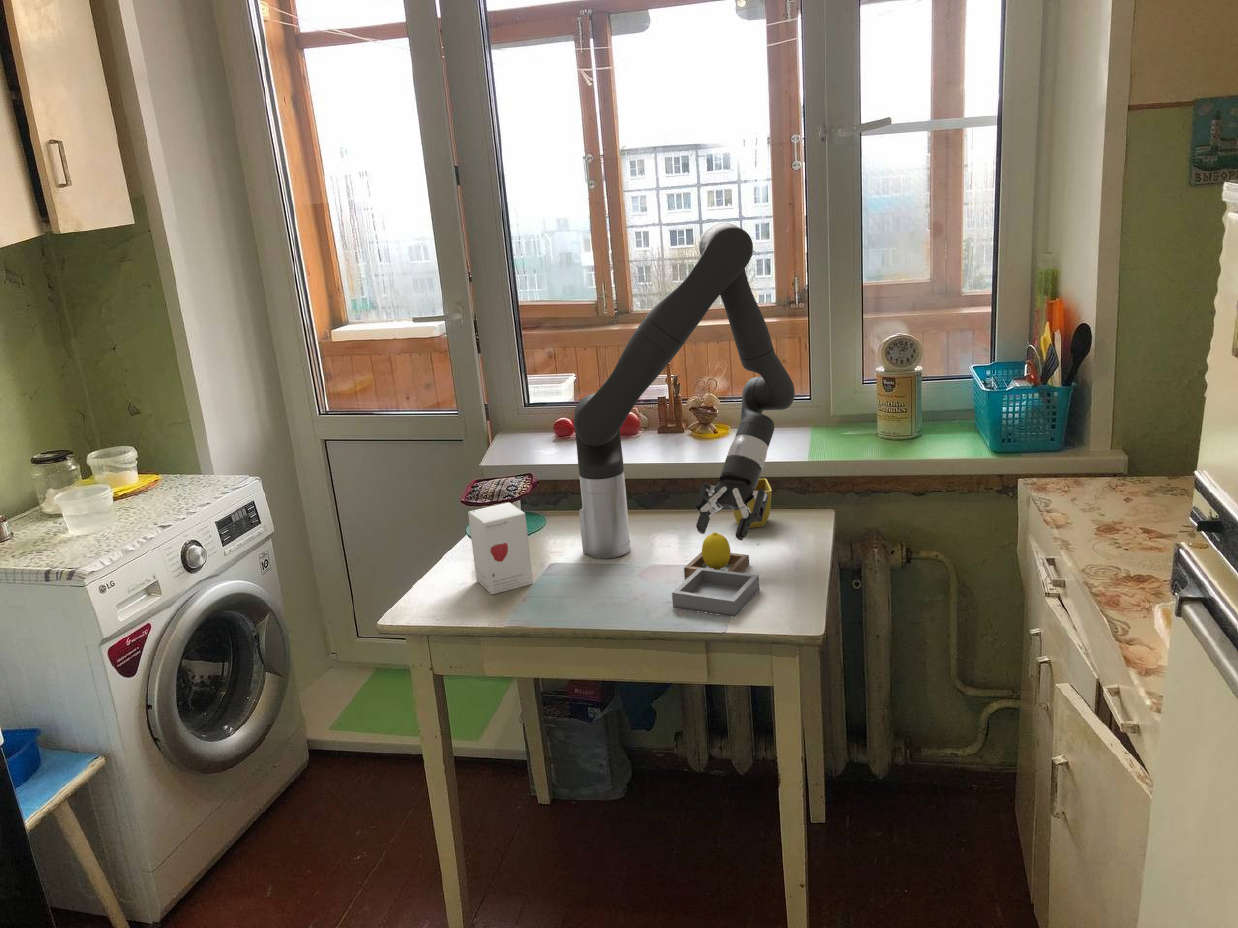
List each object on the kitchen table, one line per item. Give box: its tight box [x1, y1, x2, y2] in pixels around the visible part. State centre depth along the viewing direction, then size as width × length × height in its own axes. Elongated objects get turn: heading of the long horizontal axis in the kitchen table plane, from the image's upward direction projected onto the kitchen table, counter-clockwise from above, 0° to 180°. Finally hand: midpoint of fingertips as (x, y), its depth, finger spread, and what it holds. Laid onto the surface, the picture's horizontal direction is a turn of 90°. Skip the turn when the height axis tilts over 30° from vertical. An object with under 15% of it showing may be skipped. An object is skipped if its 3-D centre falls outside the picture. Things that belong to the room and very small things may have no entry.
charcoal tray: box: [671, 567, 760, 618], centre depth 175 cm, size 12×12×3 cm
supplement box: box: [467, 502, 534, 596], centre depth 189 cm, size 9×9×15 cm
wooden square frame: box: [683, 551, 750, 579], centre depth 187 cm, size 10×10×2 cm
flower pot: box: [731, 478, 773, 529], centre depth 210 cm, size 9×9×9 cm
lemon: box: [701, 531, 732, 570], centre depth 187 cm, size 6×6×8 cm
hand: (719, 535), depth 187 cm, fingers open, 8 cm apart
